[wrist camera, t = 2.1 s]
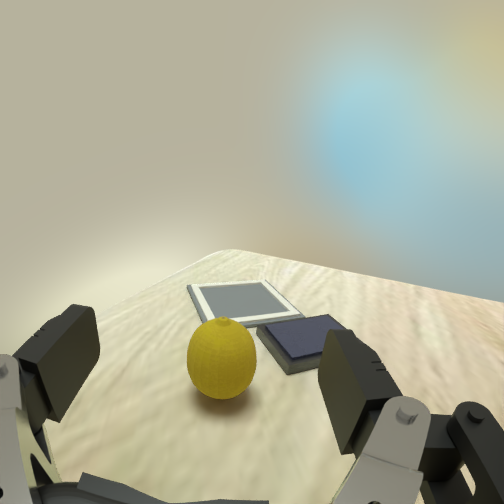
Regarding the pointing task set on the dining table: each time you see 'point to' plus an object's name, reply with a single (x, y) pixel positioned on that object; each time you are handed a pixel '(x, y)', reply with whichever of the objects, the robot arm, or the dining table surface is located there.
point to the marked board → (242, 302)
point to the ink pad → (297, 341)
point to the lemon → (221, 358)
